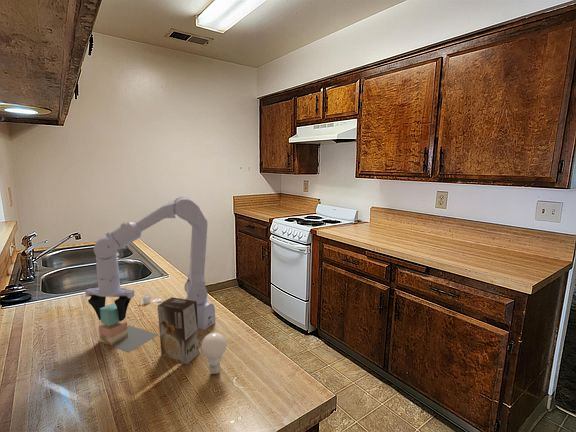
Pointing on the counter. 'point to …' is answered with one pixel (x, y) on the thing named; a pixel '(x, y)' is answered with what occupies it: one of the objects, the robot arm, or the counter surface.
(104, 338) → the maple slab
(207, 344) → the lightbulb
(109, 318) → the teal block
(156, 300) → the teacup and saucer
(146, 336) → the slate board
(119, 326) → the terracotta slab
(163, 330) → the coffee box
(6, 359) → the counter surface
